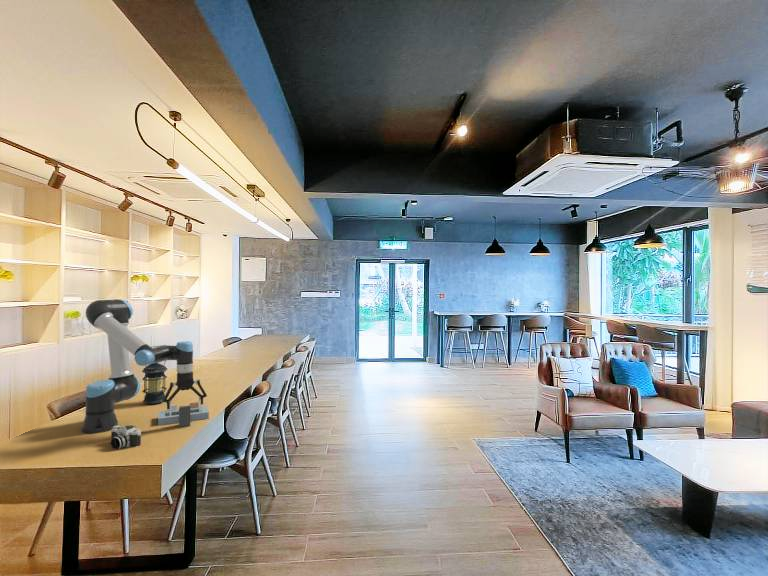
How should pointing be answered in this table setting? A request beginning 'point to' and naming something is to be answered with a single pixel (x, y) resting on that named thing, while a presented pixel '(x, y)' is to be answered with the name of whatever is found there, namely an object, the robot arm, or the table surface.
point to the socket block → (174, 418)
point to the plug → (184, 416)
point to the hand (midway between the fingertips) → (185, 413)
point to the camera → (125, 436)
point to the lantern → (154, 383)
